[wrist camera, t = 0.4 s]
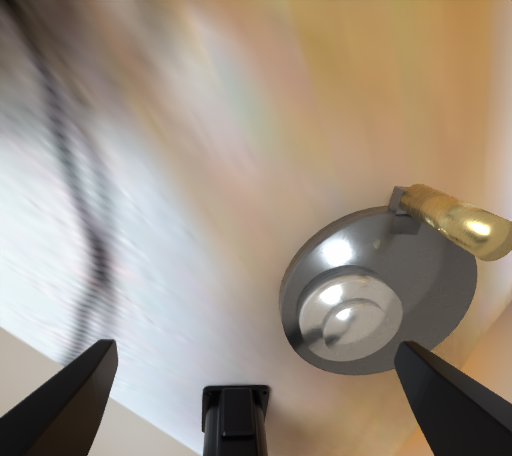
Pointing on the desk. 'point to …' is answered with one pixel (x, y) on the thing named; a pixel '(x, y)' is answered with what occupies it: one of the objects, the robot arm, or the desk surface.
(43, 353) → the desk surface
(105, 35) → the desk surface
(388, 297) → the cover
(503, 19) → the desk surface
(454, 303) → the turntable
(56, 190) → the desk surface
